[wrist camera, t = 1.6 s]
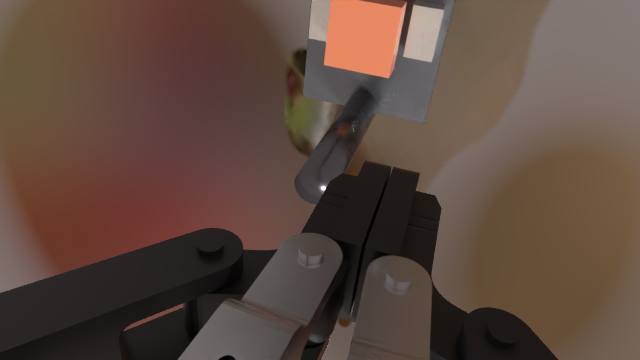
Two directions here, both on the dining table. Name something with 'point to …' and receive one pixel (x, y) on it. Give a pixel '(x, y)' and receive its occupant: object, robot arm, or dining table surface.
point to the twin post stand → (369, 87)
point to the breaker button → (364, 35)
